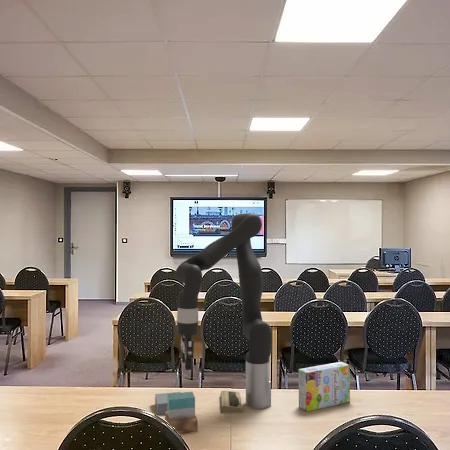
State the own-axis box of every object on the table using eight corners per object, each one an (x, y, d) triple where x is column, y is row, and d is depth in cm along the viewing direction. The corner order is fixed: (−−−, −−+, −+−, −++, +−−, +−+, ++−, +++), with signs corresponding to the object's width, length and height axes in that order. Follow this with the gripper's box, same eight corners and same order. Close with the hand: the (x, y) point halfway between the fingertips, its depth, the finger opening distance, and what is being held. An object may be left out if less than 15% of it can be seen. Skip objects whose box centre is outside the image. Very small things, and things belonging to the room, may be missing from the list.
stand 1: (180, 401, 178) (180, 391, 178) (184, 412, 168) (184, 401, 168) (155, 404, 176) (155, 394, 176) (157, 414, 166) (157, 404, 166)
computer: (242, 413, 168) (242, 405, 168) (221, 414, 168) (221, 405, 168) (240, 397, 184) (240, 389, 184) (220, 397, 184) (220, 389, 184)
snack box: (341, 397, 183) (341, 360, 182) (350, 402, 177) (350, 364, 177) (297, 406, 173) (297, 368, 173) (306, 412, 168) (306, 372, 168)
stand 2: (192, 419, 162) (192, 408, 162) (197, 431, 152) (197, 420, 152) (165, 422, 160) (165, 411, 160) (168, 435, 150) (168, 423, 150)
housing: (192, 411, 160) (192, 391, 160) (195, 417, 154) (195, 397, 154) (167, 413, 158) (167, 393, 158) (168, 420, 152) (168, 399, 152)
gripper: (201, 324, 152) (200, 371, 152) (194, 315, 166) (193, 359, 166) (179, 324, 151) (178, 372, 151) (174, 316, 165) (173, 360, 165)
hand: (186, 365), depth 158 cm, fingers open, 8 cm apart
